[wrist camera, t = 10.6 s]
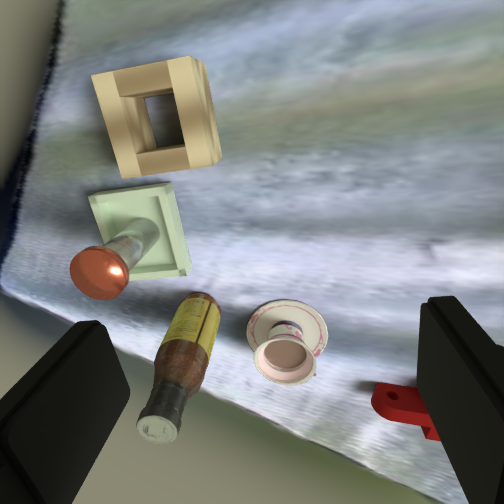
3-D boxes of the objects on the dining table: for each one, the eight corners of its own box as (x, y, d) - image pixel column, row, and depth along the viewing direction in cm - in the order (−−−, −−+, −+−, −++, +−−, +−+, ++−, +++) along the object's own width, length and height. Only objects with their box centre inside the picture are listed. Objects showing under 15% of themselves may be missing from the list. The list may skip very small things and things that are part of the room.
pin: (119, 214, 43) (60, 253, 32) (159, 209, 42) (113, 248, 31) (132, 252, 45) (81, 302, 34) (170, 248, 44) (131, 297, 33)
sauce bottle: (173, 309, 49) (105, 427, 31) (197, 282, 47) (138, 393, 29) (208, 334, 50) (162, 461, 32) (232, 309, 48) (198, 431, 30)
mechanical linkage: (483, 385, 49) (503, 413, 45) (465, 418, 52) (481, 448, 48) (375, 367, 50) (384, 394, 45) (363, 401, 53) (370, 429, 48)
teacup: (232, 340, 51) (225, 369, 45) (274, 283, 46) (272, 308, 40) (297, 376, 52) (297, 408, 47) (344, 325, 47) (352, 355, 42)
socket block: (120, 79, 37) (90, 75, 32) (205, 63, 36) (189, 55, 30) (144, 169, 41) (122, 178, 36) (222, 157, 39) (211, 166, 34)
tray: (98, 191, 43) (87, 196, 40) (171, 181, 41) (164, 186, 39) (126, 273, 48) (117, 282, 45) (192, 267, 46) (187, 275, 44)
